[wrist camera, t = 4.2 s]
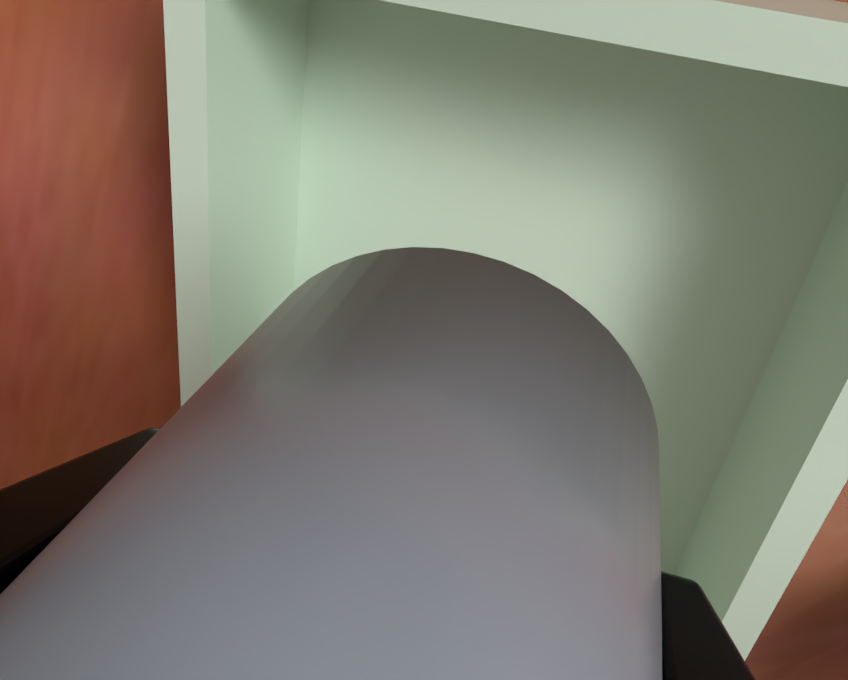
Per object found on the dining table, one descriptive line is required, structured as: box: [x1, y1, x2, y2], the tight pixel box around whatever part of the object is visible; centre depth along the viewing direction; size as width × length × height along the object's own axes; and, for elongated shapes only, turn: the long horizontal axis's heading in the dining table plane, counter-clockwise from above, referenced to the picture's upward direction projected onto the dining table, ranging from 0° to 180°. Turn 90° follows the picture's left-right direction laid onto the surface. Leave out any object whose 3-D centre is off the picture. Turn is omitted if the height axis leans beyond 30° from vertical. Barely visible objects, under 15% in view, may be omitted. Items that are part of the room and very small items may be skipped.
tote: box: [163, 0, 848, 661], centre depth 18 cm, size 14×18×5 cm
